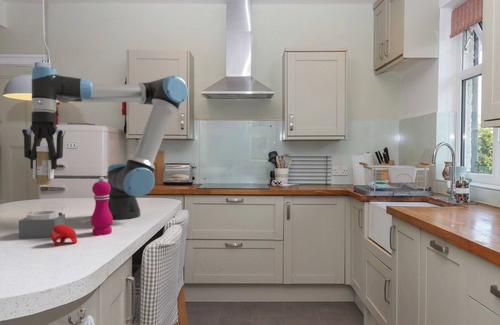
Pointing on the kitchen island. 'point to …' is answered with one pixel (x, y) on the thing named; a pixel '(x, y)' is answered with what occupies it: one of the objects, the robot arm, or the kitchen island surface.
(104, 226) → the pepper mill
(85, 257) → the kitchen island surface
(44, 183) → the sprinkles bottle
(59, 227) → the red animal figurine
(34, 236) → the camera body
